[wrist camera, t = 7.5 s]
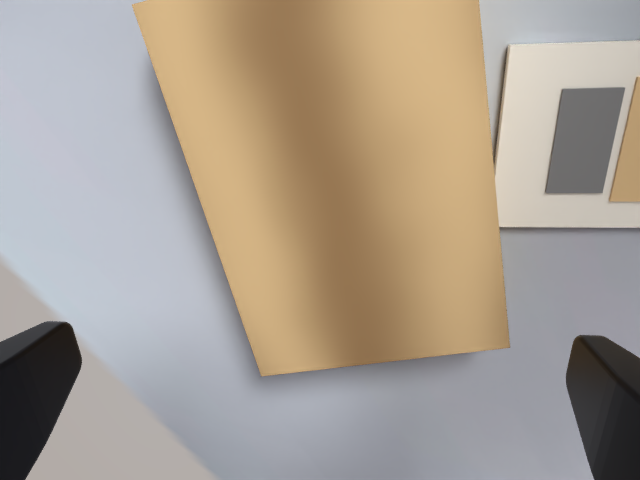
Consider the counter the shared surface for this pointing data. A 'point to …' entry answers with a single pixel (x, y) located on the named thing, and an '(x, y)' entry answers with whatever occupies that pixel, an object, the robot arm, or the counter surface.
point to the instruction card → (570, 136)
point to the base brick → (340, 171)
